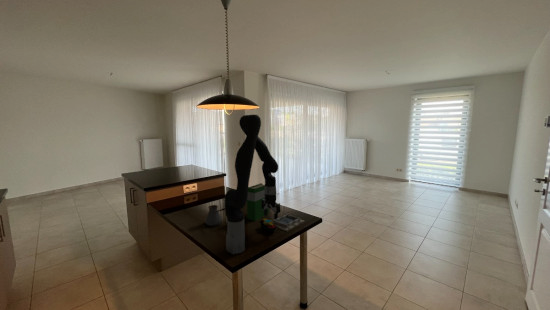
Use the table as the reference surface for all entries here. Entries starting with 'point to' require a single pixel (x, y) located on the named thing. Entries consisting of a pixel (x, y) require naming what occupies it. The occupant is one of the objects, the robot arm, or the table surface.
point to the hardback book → (255, 202)
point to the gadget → (268, 225)
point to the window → (287, 222)
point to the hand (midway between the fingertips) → (270, 217)
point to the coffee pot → (213, 216)
